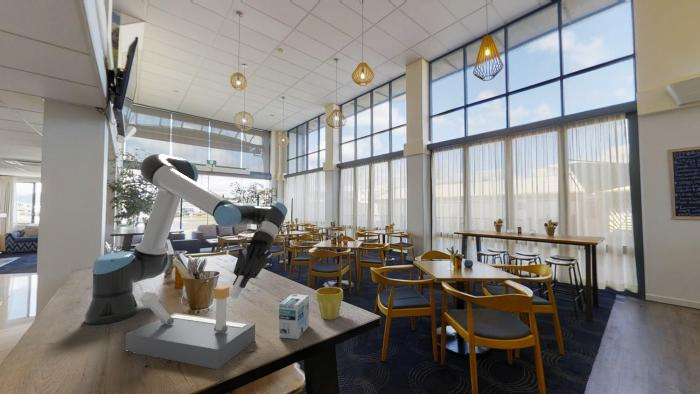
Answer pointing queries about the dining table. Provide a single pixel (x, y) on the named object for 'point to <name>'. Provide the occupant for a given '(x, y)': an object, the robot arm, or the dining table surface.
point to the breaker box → (191, 340)
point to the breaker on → (156, 307)
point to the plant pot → (329, 301)
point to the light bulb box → (293, 316)
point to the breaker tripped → (221, 308)
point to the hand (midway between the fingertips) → (233, 296)
